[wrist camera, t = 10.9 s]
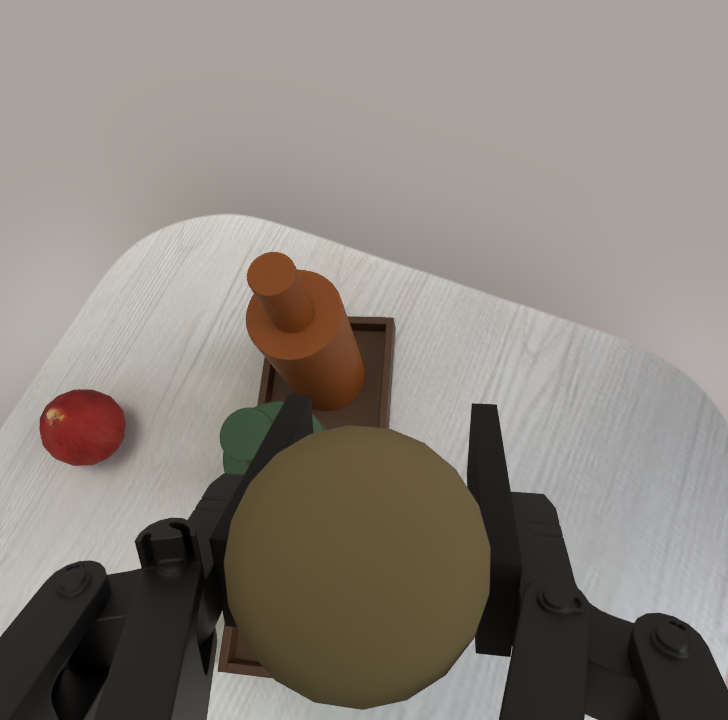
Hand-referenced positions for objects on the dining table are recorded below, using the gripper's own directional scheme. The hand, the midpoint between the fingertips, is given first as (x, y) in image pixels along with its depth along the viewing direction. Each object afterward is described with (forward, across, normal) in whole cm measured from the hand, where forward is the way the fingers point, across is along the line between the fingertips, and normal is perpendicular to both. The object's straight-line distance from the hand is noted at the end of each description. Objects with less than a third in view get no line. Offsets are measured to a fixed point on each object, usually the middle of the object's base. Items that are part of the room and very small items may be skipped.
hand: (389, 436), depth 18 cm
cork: (0, 0, -5) cm, 5 cm away
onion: (+20, -25, -15) cm, 36 cm away
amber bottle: (+24, -7, -10) cm, 27 cm away
